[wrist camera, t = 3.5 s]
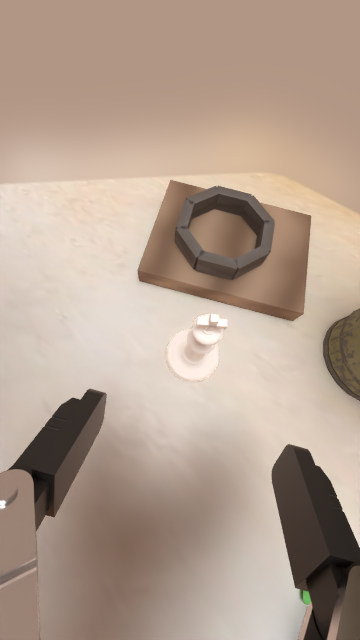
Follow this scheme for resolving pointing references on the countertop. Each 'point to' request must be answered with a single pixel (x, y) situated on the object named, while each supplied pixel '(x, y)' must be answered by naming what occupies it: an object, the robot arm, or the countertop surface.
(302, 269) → the socket board
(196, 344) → the chess piece
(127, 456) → the countertop surface
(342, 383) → the thermos
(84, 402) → the robot arm
